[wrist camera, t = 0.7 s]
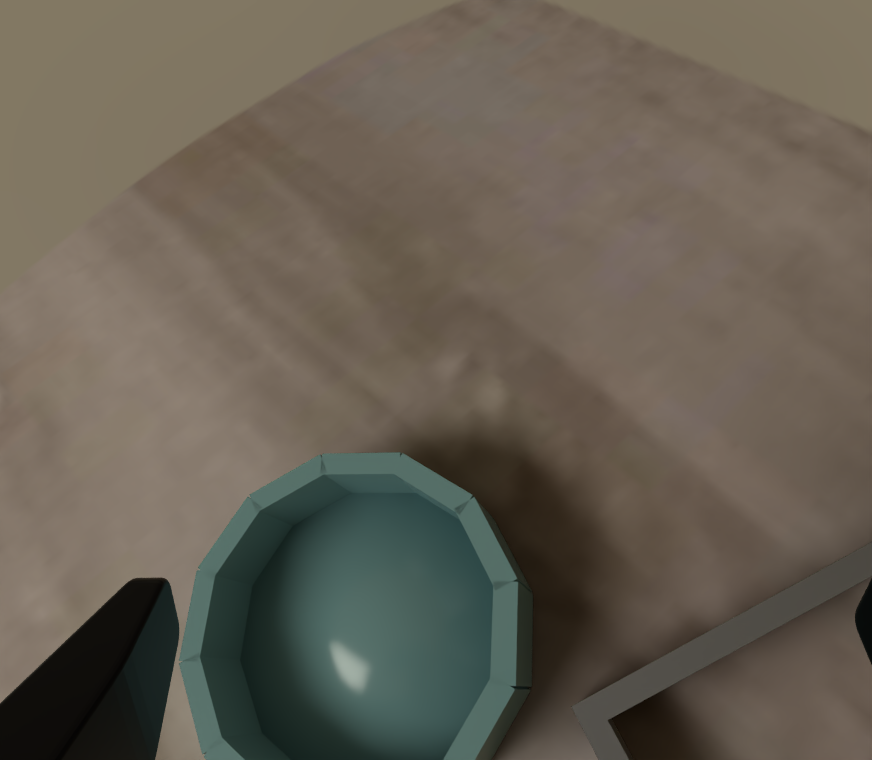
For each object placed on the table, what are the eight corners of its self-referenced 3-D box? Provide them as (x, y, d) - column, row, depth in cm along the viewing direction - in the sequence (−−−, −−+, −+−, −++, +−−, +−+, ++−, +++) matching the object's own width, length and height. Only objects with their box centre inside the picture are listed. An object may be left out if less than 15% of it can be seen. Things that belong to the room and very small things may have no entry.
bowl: (596, 712, 20) (588, 715, 18) (292, 878, 21) (241, 905, 18) (444, 426, 25) (421, 396, 23) (201, 565, 26) (150, 551, 23)
